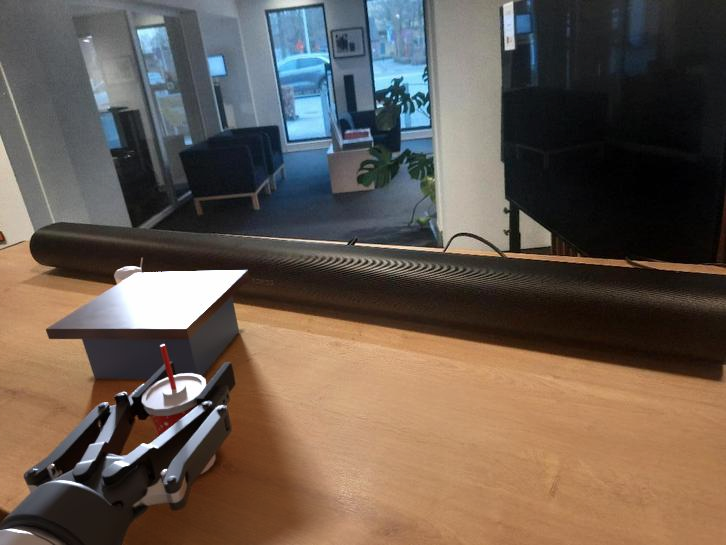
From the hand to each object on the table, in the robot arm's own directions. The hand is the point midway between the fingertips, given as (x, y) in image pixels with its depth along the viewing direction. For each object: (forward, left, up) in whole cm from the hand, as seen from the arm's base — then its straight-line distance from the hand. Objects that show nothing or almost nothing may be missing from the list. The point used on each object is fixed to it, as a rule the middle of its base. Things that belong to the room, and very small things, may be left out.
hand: (200, 372), depth 54 cm
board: (-15, +17, 0) cm, 23 cm away
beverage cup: (0, -5, -8) cm, 9 cm away
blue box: (-15, +17, -8) cm, 24 cm away
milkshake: (-29, +31, -8) cm, 43 cm away
